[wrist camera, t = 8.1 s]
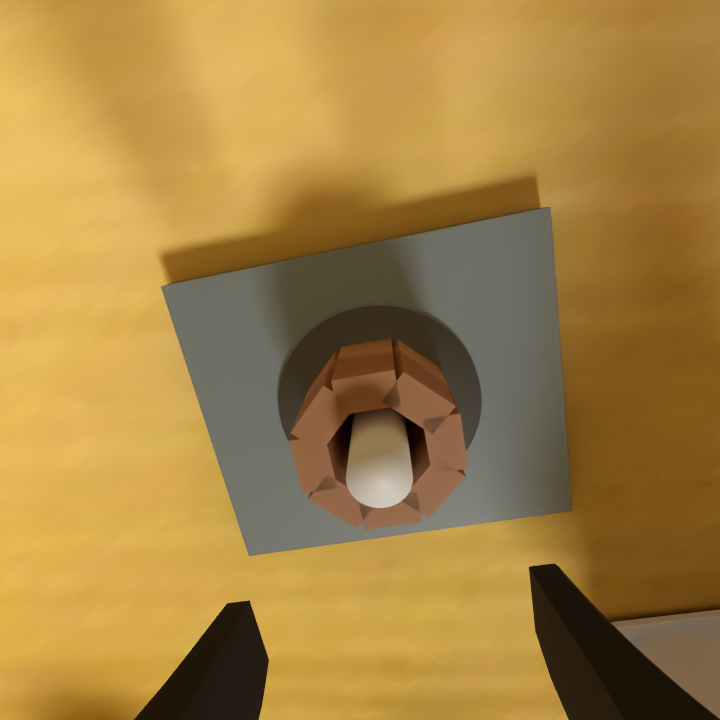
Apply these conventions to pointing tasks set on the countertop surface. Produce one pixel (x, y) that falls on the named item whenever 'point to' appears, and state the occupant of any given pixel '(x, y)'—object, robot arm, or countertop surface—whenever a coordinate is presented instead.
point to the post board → (399, 322)
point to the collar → (370, 392)
